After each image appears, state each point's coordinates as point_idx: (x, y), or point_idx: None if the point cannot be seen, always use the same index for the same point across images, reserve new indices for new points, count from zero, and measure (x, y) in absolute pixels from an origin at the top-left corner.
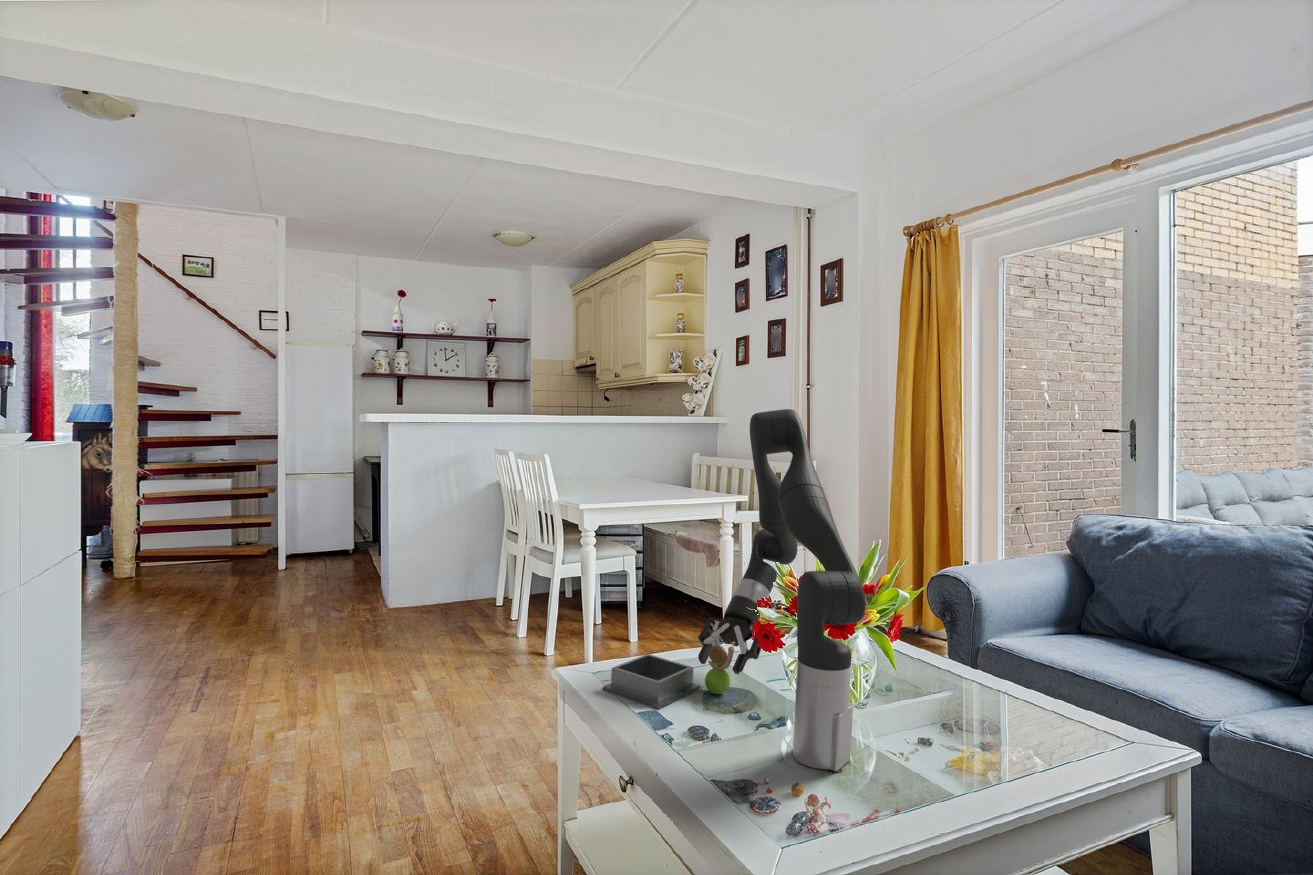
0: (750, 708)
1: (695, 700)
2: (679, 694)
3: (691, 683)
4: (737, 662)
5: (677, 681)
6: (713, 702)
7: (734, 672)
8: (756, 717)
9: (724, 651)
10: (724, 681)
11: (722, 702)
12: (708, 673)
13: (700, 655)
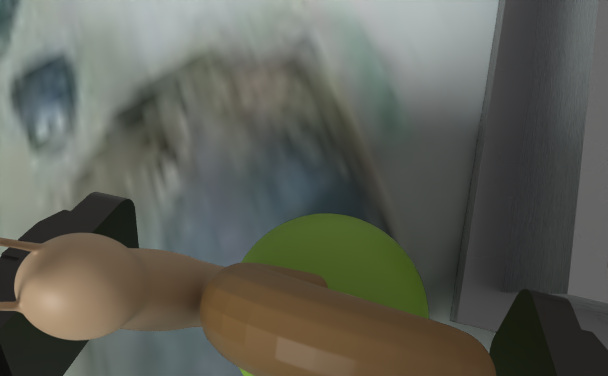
0: (83, 188)
1: (397, 134)
2: (500, 106)
3: (509, 275)
4: (54, 235)
5: (561, 85)
6: (296, 160)
7: (134, 237)
8: (33, 93)
9: (221, 296)
10: (248, 252)
11: (249, 187)
12: (396, 262)
13: (573, 325)
